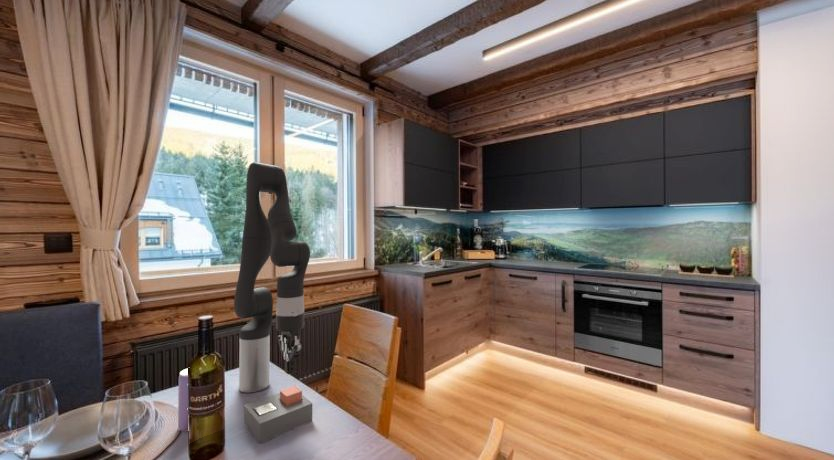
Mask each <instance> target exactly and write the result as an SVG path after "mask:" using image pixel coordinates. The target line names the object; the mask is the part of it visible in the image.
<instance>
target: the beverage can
mask: <svg viewBox="0 0 834 460" xmlns="http://www.w3.org/2000/svg"><path fill="white" fill-rule="evenodd" d="M188 368H189V367H188ZM188 368H185V369H183V370H181V371H180V372H179V376H178V399H177V400H178V402H177V403H178V404H177V405H178V406H177V407H178V410H177V411H178V412H177V414H178V416H177V417H178V419H177V420H178V421H177V423H178V425H177V426H178V427H177V428H178V430H179V431H180V430H181V432H185V433H186V432H189V431H188V410H187V408H188V386H187V383H188Z"/></svg>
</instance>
